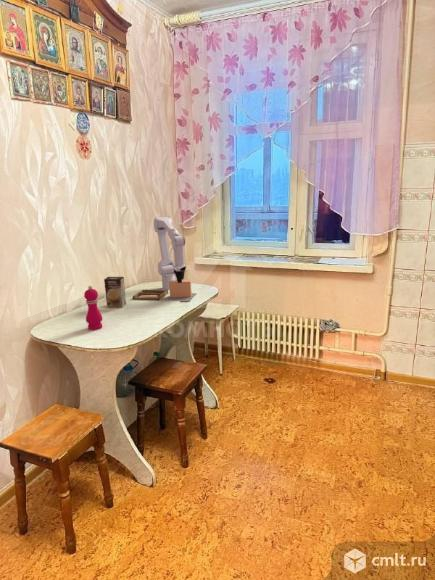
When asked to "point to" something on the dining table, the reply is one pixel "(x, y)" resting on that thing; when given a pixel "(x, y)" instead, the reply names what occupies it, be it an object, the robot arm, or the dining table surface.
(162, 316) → the dining table surface
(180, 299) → the mat
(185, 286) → the salmon orange block
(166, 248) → the robot arm
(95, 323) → the pepper mill
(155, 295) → the offcut top
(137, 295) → the rack
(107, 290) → the coffee box
